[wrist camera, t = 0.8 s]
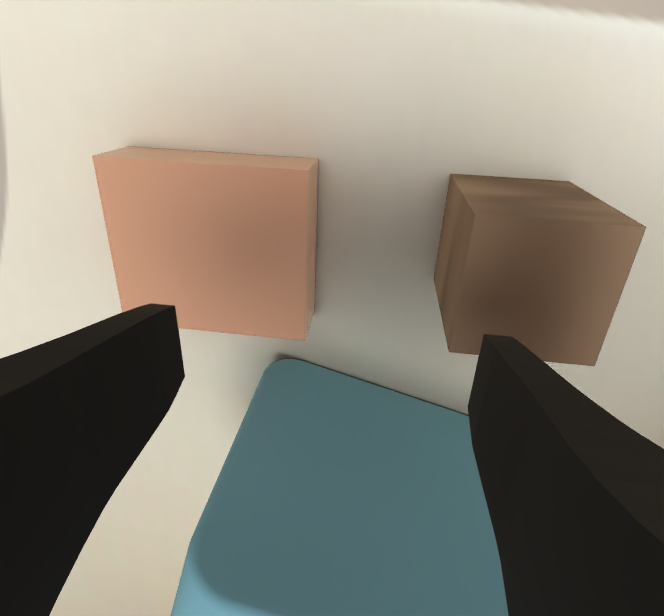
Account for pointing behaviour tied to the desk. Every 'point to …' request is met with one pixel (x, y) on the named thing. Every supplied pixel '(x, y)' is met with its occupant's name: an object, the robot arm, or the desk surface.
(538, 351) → the walnut block
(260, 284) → the terracotta plinth
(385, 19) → the desk surface
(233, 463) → the teal rounded block
